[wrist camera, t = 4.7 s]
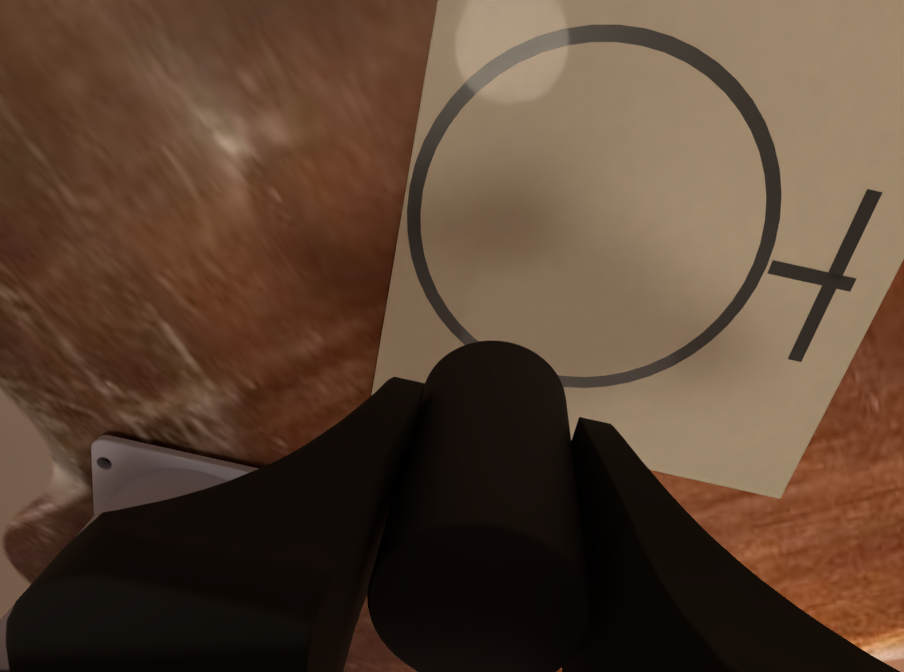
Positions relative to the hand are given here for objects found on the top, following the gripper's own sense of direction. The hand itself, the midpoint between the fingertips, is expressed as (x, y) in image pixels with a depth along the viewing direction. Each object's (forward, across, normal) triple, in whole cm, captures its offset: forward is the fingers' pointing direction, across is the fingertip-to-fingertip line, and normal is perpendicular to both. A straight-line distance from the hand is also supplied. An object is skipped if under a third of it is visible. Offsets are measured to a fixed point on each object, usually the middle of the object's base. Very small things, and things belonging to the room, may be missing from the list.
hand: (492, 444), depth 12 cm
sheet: (+8, -4, -3) cm, 9 cm away
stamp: (+1, 0, 0) cm, 1 cm away
